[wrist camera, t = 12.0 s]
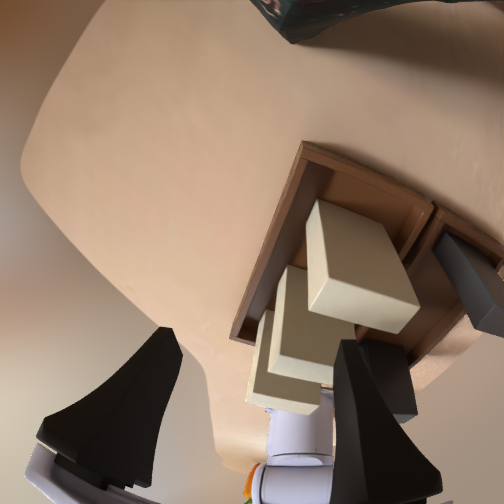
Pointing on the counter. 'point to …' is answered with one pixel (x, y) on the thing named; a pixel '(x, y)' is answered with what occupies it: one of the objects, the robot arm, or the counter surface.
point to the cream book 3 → (356, 270)
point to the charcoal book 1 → (391, 376)
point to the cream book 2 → (277, 379)
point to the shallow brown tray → (298, 210)
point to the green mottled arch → (320, 14)
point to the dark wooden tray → (433, 286)
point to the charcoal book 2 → (473, 282)
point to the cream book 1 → (303, 333)
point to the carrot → (249, 485)
